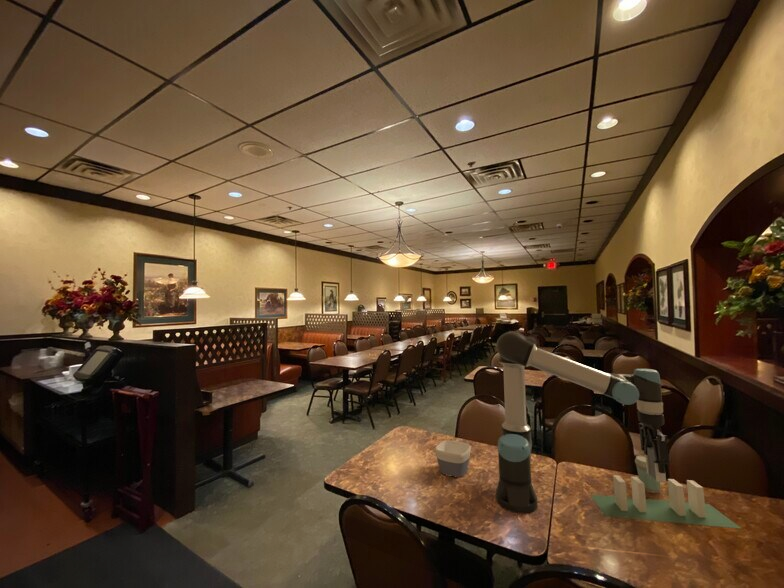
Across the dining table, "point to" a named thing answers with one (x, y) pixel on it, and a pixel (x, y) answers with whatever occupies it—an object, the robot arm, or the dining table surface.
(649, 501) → the mat
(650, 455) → the slate domino
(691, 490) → the domino
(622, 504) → the domino
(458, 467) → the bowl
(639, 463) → the coffee cup
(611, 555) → the dining table surface
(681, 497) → the domino
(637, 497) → the domino
